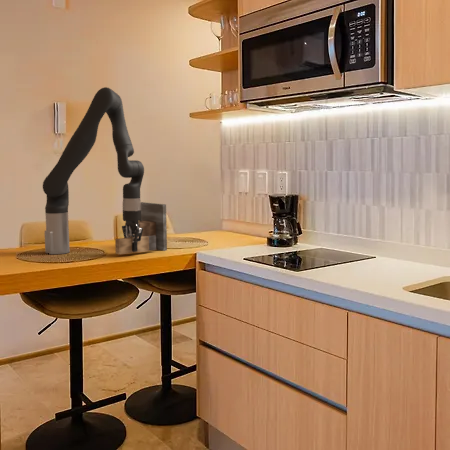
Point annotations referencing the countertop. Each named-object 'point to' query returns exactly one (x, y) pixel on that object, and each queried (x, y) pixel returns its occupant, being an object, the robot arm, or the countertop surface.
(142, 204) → the slotted block base plate
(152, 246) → the rail
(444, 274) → the countertop surface
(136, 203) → the robot arm
